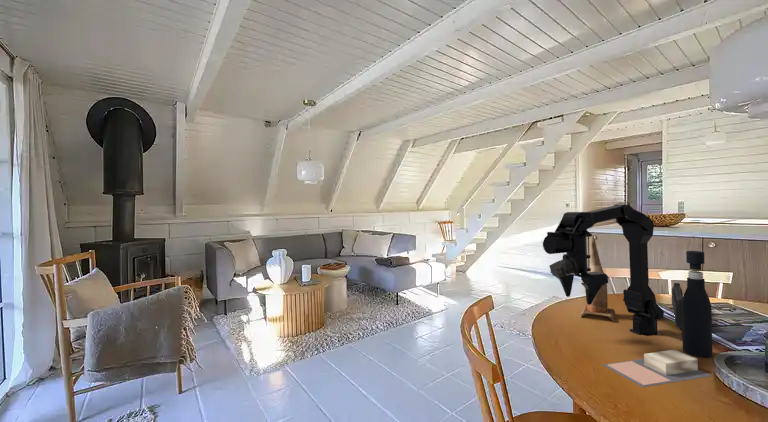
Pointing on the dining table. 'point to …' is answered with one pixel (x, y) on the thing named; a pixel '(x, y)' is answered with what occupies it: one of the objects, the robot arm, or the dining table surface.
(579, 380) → the dining table surface
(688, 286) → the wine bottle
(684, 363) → the block
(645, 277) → the robot arm
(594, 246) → the brown tall tapered piece
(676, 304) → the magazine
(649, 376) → the mat
